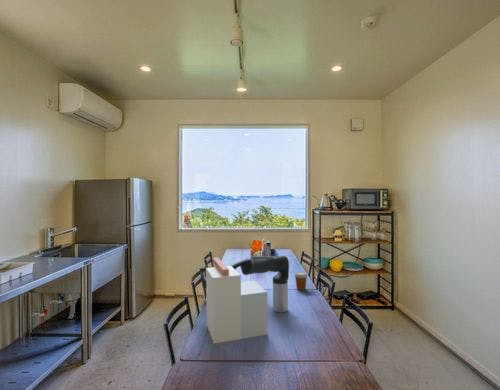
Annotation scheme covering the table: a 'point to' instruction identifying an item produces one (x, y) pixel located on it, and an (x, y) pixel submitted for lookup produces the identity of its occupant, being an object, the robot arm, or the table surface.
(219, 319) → the riser
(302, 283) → the disposable coffee cup
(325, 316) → the table surface
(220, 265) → the rod
